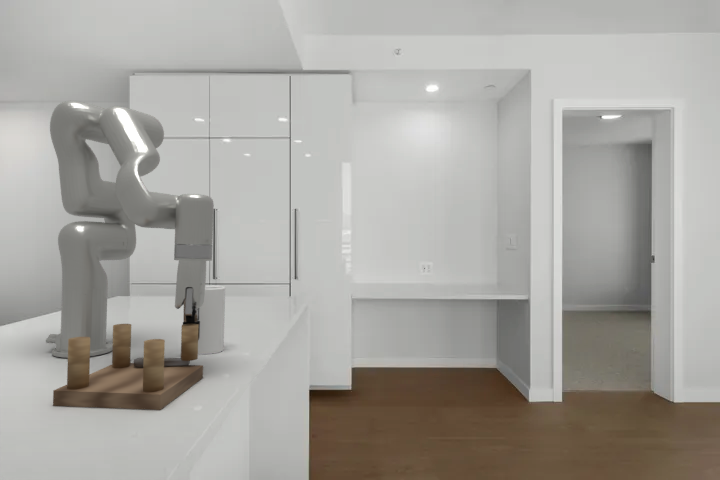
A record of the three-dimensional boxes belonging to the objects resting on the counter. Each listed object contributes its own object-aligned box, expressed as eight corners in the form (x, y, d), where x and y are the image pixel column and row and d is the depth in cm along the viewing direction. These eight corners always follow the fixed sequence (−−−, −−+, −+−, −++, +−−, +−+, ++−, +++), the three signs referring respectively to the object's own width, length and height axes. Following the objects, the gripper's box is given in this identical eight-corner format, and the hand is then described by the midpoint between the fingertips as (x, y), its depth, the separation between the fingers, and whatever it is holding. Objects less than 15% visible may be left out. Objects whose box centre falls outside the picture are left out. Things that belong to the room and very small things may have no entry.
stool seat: (52, 405, 76) (54, 341, 76) (115, 374, 94) (117, 322, 94) (160, 409, 75) (161, 344, 75) (202, 377, 93) (204, 325, 93)
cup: (204, 356, 111) (205, 289, 111) (182, 351, 115) (183, 286, 115) (230, 349, 118) (232, 287, 118) (208, 345, 122) (210, 284, 122)
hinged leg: (131, 367, 89) (132, 327, 89) (136, 363, 92) (137, 324, 92) (196, 365, 92) (197, 326, 92) (198, 361, 95) (199, 323, 95)
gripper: (180, 252, 103) (177, 333, 103) (168, 254, 89) (165, 349, 89) (214, 252, 105) (212, 333, 105) (208, 254, 91) (206, 348, 90)
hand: (190, 340), depth 97 cm, fingers closed
